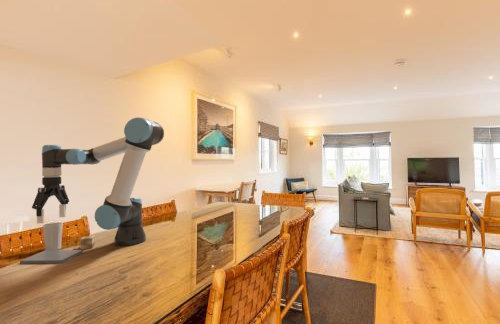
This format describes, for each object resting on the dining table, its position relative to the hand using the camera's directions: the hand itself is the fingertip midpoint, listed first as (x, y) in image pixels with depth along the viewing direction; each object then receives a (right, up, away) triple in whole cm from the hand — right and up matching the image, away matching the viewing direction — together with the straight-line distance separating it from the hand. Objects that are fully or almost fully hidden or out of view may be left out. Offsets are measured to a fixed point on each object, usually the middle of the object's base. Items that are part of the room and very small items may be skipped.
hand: (52, 220), depth 130 cm
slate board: (+10, -14, -13) cm, 21 cm away
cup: (+1, -14, 0) cm, 14 cm away
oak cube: (+17, -14, +1) cm, 22 cm away
